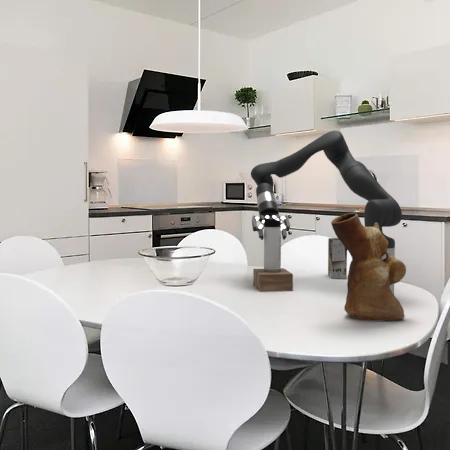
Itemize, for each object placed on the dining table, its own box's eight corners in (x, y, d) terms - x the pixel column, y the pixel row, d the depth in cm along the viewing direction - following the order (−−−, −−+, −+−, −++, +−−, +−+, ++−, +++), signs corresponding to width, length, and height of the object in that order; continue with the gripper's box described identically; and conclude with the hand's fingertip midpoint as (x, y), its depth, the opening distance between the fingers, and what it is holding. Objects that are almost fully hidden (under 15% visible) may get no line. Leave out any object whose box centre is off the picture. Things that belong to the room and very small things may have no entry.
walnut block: (292, 290, 188) (292, 274, 187) (260, 291, 186) (260, 274, 186) (283, 283, 202) (283, 268, 201) (253, 284, 200) (253, 268, 200)
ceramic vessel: (415, 322, 143) (418, 213, 141) (342, 326, 138) (343, 214, 136) (386, 309, 158) (388, 211, 156) (319, 312, 154) (320, 212, 152)
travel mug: (260, 270, 195) (260, 217, 194) (275, 269, 198) (275, 217, 197) (268, 272, 190) (268, 218, 188) (283, 271, 192) (284, 218, 191)
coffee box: (347, 278, 213) (347, 239, 212) (331, 278, 213) (332, 239, 212) (342, 275, 222) (343, 237, 221) (327, 275, 222) (328, 237, 221)
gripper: (250, 199, 198) (255, 232, 188) (287, 199, 200) (294, 231, 189) (248, 212, 204) (253, 245, 193) (283, 212, 206) (290, 244, 195)
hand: (273, 238), depth 191 cm, fingers open, 8 cm apart
